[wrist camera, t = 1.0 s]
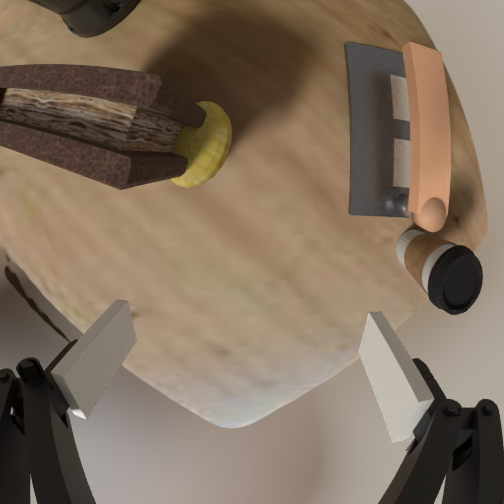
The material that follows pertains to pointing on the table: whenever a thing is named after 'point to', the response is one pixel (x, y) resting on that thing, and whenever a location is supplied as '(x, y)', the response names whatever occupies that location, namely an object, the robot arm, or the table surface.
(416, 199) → the cable arm
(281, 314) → the table surface
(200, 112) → the book
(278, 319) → the table surface
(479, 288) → the coffee cup
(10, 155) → the table surface
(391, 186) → the plate
